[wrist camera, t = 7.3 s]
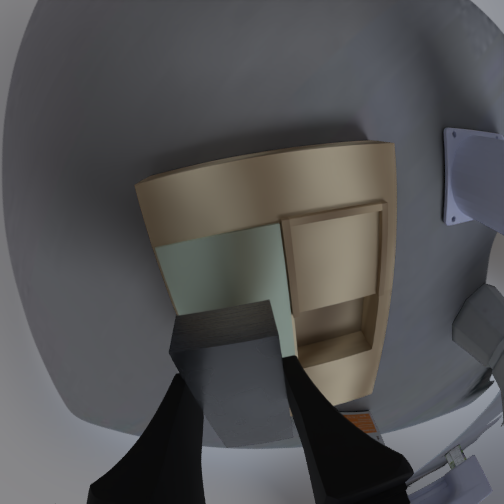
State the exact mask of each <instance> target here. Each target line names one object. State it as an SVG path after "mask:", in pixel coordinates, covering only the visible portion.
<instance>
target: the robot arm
mask: <svg viewBox="0 0 504 504" xmlns="http://www.w3.org/2000/svg"><path fill="white" fill-rule="evenodd" d="M452 133H453V135H452ZM444 148H445V203H444V219H443V220H444V224H446V225H448V226H449V225H454V224H458V223H462V222H467V221H471V220H476V221H478V222H480V223H482V224H484V225H486V226H488V227H489V228H491V229H493V230H495V231H497V232H499V233H500V234H502V235H504V137H503V135H502V134H497V133H491V132H484V131H476V130H468V129H459V128H448V127H447V128H445V129H444ZM452 217H453V218H452ZM282 360H283V367H284V368H283V372H284V379H285V385H286V392H287V399H288V404H289V407H290V410H291V413H292V416H293V419H294V422H295V425H296V428H297V431H298V434H299V437H300V439H301V442H302V446H303V449H304V453H305V457H306V462H307V466H308V470H309V475H310V480H311V484H312V489H313V493H314V498H315V503H316V504H478V503H480V502H481V501H482V500H483V499H485V498H486V497H487V496H488V495H490V494H491V493H492V491H493V490H492V488H491V486H490V484H489V482H488V480H487V478H486V476H485V474H484V472H483V470H482V468H481V466H480V464H479V462H478V460H477V458H476V457H475V455H472V456H471V457H470V458H468V459H466V460H465V461H464V462H462V463H461V464H459V465H458V466H456V467H455V468H453V469H452V470H450V471H449V472H448V473H447V474H445V476H443V477H441V478H440V479H438V480H436V481H435V482H433V483H431V484H429V485H427V486H426V487H424V488H422V489H420V490H418V491H416V492H414V493H412V494H410V495H407V493H406V489H407V486H406V484H405V482H406V481H407V480H408V479H409V478H410V477H412V475H413V474H414V472H413V469H412V467H411V466H410V464H409V462H408V461H407V460H406V458H405V457H404V456H403V455H402V454H400V453H398V452H396V451H394V450H392V449H390V448H388V447H387V446H385V445H383V444H381V443H380V442H378V441H376V440H375V439H373V438H372V437H370V436H369V435H368V434H366V433H365V432H363V431H362V430H361V429H359V428H358V427H356V426H355V425H354V424H353V423H352V422H350V421H349V420H348V419H347V418H346V417H345V416H343V415H342V414H341V413H340V412H339V411H338V410H337V409H336V408H335V407H334V406H333V405H332V404H331V403H330V402H329V401H328V400H327V399H326V397H325V396H324V395H323V394H322V393H321V392H320V390H319V389H318V388H317V387H316V385H315V384H314V383H313V382H312V380H311V379H310V378H309V376H308V375H307V373H306V372H305V370H304V369H303V367H302V365H301V364H300V362H299V360H298V358H297V356H295V355H292V356H288V357H283V358H282ZM203 419H204V415H203V411H202V409H201V407H200V406H199V404H198V402H197V401H196V399H195V397H194V396H193V394H192V392H191V391H190V389H189V387H188V385H187V384H186V383H185V381H184V380H183V378H182V376H181V374H180V373H178V374H176V375H175V376H174V378H173V380H172V383H171V385H170V387H169V389H168V391H167V393H166V395H165V397H164V399H163V400H162V402H161V404H160V406H159V408H158V410H157V411H156V413H155V415H154V417H153V418H152V420H151V421H150V423H149V425H148V426H147V428H146V429H145V431H144V432H143V434H142V435H141V436H140V438H139V439H138V440H137V442H136V443H135V444H134V446H133V447H132V448H131V449H130V450H129V451H128V453H127V454H126V455H125V456H124V457H123V458H122V459H121V460H120V461H119V462H118V463H117V464H116V465H115V466H114V467H113V468H112V469H111V470H109V471H108V472H107V473H106V474H105V475H103V476H102V477H101V478H99V479H98V480H97V481H95V482H94V483H93V484H91V485H90V488H89V493H88V499H87V504H206V503H205V497H204V489H203V480H202V468H201V453H202V452H201V451H202V436H203Z"/></svg>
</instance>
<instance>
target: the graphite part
mask: <svg viewBox="0 0 504 504" xmlns="http://www.w3.org/2000/svg"><path fill="white" fill-rule="evenodd" d="M169 354H170V356H171V358H172V360H173V362H174V363H175V365H176V367H177V369H178V371H179V373H180V374H181V376H182V378H183V380H184V381H185V383H186V384H187V385H188V387H189V389H190V391H191V392H192V394H193V396H194V397H195V399H196V401H197V402H198V404H199V406H200V407H201V409H202V411H203V413H204V415H205V416H206V418H207V419H208V421H209V423H210V424H211V426H212V427H213V429H214V430H215V432H216V433H217V435H218V436H219V438H220V439H221V440H222V442H223V443H224V445H225V446H226V448H228V447H238V446H246V445H254V444H261V443H267V442H273V441H279V440H284V439H289V438H293V431H292V423H291V416H290V409H289V404H288V399H287V392H286V385H285V379H284V372H283V368H284V367H283V360H282V353H281V346H280V340H279V334H278V330H277V326H276V322H275V319H274V315H273V311H272V307H271V303H270V299H269V300H264V301H259V302H254V303H248V304H243V305H238V306H232V307H227V308H221V309H215V310H209V311H204V312H197V313H191V314H185V315H178V316H176V319H175V323H174V328H173V333H172V338H171V344H170V349H169Z"/></svg>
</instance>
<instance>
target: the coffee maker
mask: <svg viewBox="0 0 504 504" xmlns="http://www.w3.org/2000/svg"><path fill="white" fill-rule="evenodd" d="M452 340H453V341H454V342H455V343H457V344H458V345H459V346H460V347H462V348H463V349H464V350H465V351H467V352H468V353H469V354H470V355H472V356H473V357H474V358H475V359H477V360H478V361H479V362H480V363H481V364H483V365H484V366H485V367H491V368H492V369H493V371H492V374H493V376H494V378H495V380H496V382H497V383H498V386H499V388H500V390H501V396H502V406H503V423H502V425H501V426H503V425H504V297H503V296H502V294H501V293H500V292H499V291H498V290H497V289H496V287H495V286H492V285H488V284H485V283H484V284H483V285H482V286H481V287H480V288H479V289H478V290H477V291H475V292H474V293H473V294H472V295H471V296H470V297H469V298H467V299H466V301H465V303H464V305H463V307H462V308H461V310H460V312H459V314H458V316H457V317H456V319H455V321H454V322H453V324H452Z"/></svg>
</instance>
